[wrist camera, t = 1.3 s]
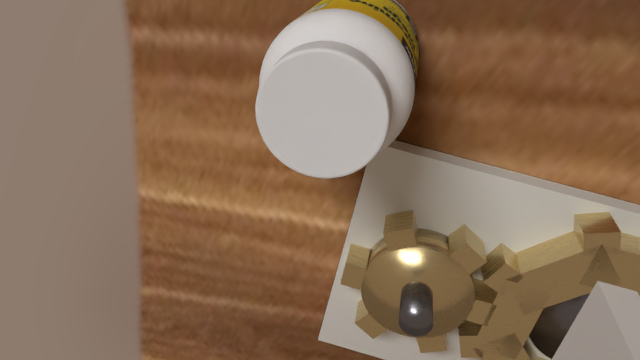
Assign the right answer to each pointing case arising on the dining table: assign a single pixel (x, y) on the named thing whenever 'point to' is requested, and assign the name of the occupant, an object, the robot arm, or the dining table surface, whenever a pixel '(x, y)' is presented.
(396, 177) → the gear board
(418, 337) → the gear
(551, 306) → the gear
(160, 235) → the dining table surface
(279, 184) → the dining table surface
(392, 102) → the pill bottle
